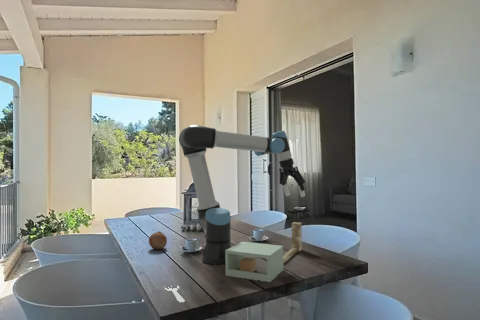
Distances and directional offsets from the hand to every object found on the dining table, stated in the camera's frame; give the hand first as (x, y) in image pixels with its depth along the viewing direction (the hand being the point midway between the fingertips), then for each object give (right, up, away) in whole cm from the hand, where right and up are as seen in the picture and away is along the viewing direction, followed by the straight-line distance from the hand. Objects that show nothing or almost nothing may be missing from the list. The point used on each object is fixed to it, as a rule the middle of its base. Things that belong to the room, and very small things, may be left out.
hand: (295, 196), depth 187 cm
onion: (-74, -28, -7) cm, 79 cm away
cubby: (-24, -27, -47) cm, 59 cm away
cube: (-27, -27, -45) cm, 59 cm away
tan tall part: (-8, -27, -22) cm, 35 cm away
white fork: (-53, -28, -67) cm, 90 cm away
